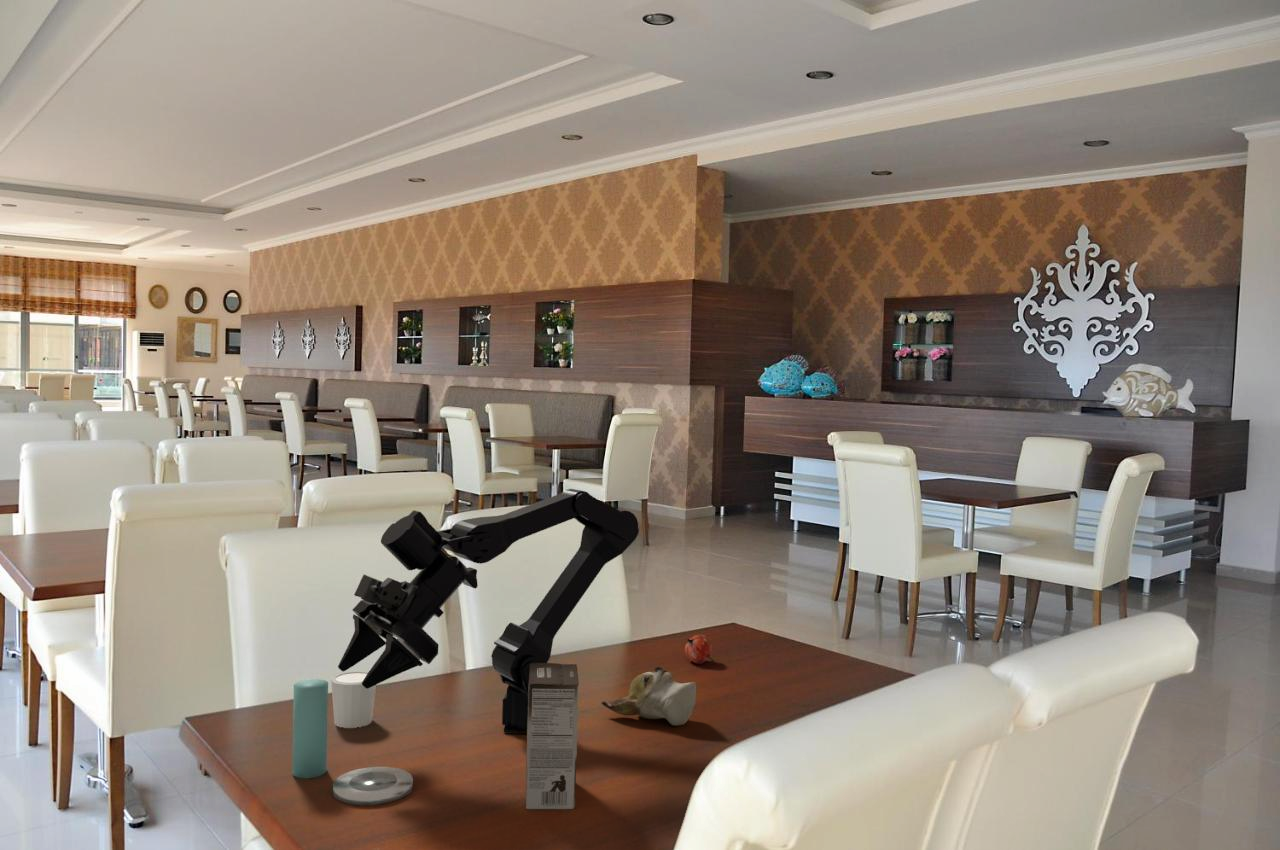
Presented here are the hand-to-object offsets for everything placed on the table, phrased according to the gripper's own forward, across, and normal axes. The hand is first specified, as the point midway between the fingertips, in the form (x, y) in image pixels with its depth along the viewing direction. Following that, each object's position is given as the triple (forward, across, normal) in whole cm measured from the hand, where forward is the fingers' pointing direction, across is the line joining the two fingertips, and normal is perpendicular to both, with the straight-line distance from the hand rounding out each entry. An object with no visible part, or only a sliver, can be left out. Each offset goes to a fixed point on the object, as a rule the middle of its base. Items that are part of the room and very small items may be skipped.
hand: (351, 677), depth 136 cm
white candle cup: (+4, -16, +13) cm, 21 cm away
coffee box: (-4, +24, +21) cm, 32 cm away
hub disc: (+9, +10, +8) cm, 16 cm away
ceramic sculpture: (-26, +7, +42) cm, 50 cm away
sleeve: (+12, 0, +5) cm, 13 cm away
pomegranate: (-45, -15, +61) cm, 78 cm away
